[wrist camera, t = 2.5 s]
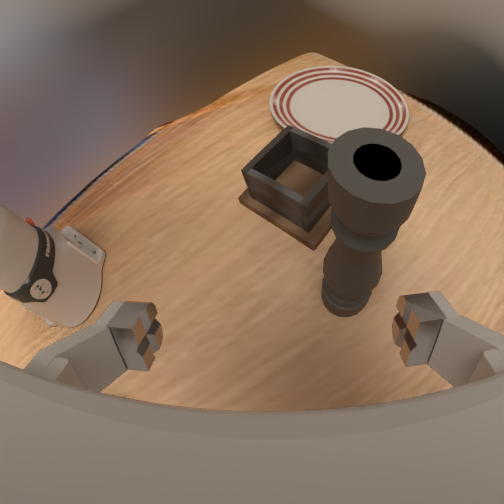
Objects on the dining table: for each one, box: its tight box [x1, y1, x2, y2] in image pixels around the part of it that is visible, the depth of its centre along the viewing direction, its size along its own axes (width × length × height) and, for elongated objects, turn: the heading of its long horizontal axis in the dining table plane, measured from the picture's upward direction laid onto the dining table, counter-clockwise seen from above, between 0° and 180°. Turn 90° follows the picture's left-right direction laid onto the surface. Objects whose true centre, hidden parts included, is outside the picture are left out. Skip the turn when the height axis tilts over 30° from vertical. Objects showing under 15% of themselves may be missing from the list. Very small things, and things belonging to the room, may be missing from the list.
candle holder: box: [322, 127, 426, 317], centre depth 25 cm, size 6×6×25 cm
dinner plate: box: [269, 66, 409, 144], centre depth 50 cm, size 28×27×3 cm
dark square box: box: [238, 125, 332, 251], centre depth 41 cm, size 14×13×8 cm
